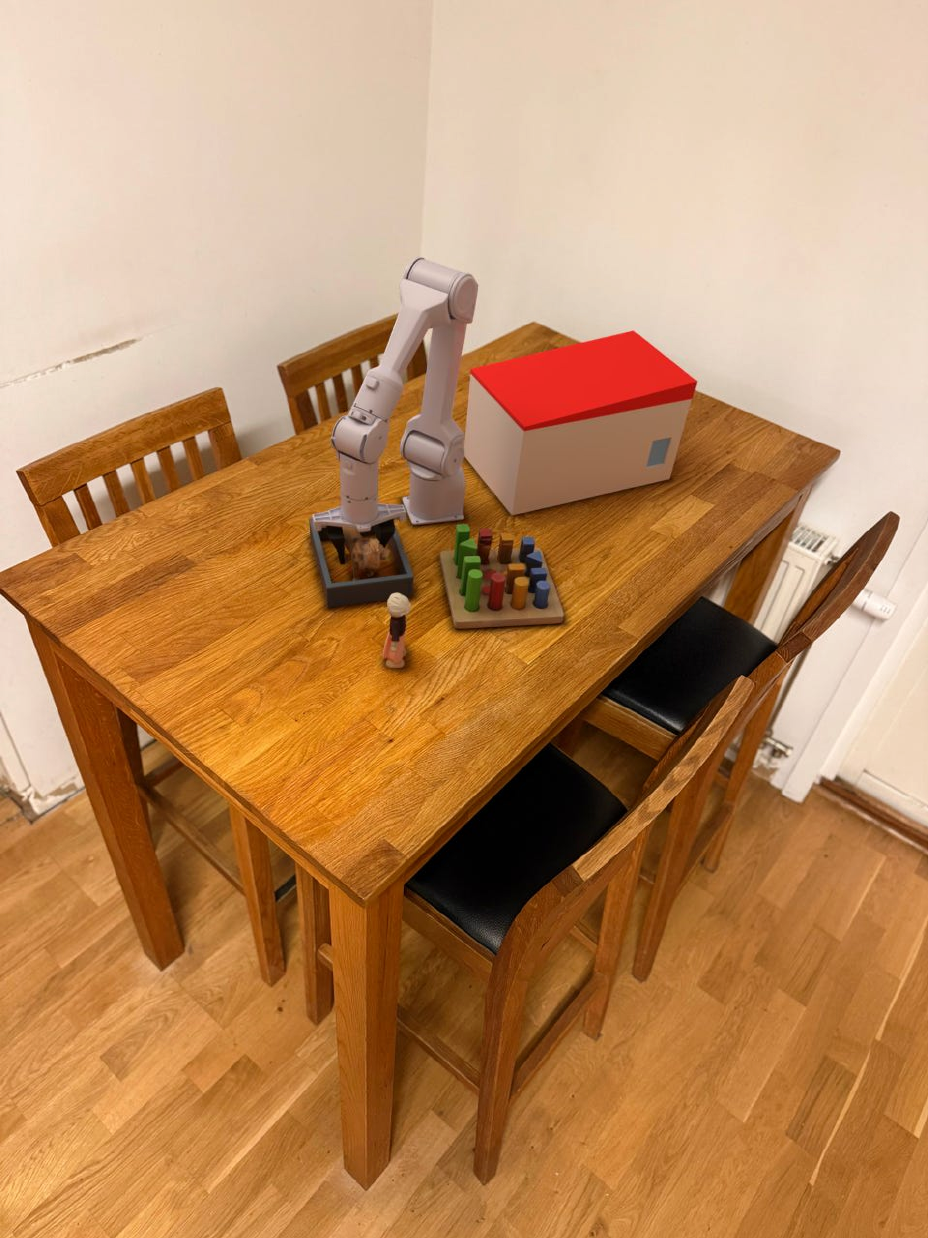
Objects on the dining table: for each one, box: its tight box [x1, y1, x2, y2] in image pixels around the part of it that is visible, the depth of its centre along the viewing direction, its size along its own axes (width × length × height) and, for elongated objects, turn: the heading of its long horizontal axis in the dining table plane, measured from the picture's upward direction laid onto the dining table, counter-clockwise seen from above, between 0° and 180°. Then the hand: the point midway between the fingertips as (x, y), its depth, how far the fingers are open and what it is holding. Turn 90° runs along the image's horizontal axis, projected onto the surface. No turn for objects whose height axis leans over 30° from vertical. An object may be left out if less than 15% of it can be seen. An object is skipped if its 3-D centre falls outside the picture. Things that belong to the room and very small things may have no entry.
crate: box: [308, 518, 415, 609], centre depth 144 cm, size 14×18×4 cm
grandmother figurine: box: [382, 593, 412, 669], centre depth 127 cm, size 8×4×13 cm, turn 5°
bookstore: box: [463, 330, 699, 516], centre depth 165 cm, size 21×35×21 cm, turn 116°
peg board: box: [439, 523, 565, 630], centre depth 141 cm, size 18×17×9 cm
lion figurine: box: [342, 527, 391, 581], centre depth 143 cm, size 15×5×9 cm, turn 34°
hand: (360, 558), depth 144 cm, fingers open, 5 cm apart
